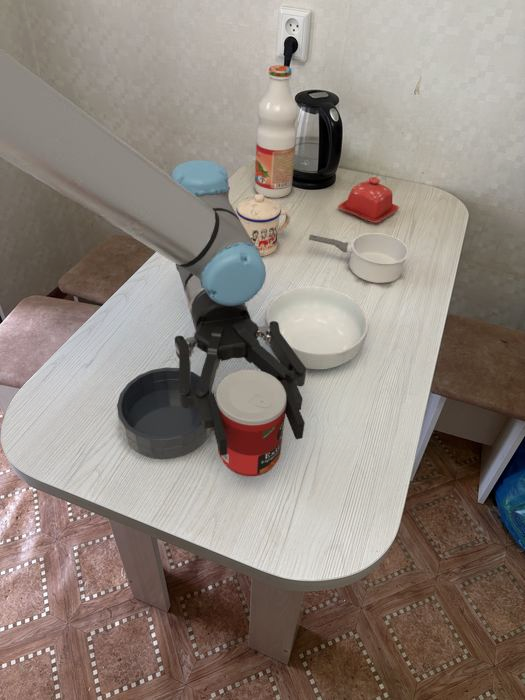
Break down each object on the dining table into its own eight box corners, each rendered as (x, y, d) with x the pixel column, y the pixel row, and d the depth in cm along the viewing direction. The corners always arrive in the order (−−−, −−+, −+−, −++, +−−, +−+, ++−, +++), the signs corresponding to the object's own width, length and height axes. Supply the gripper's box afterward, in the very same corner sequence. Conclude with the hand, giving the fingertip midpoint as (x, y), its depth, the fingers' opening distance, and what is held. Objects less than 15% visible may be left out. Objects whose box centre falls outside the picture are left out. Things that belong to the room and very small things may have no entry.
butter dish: (360, 195, 128) (366, 163, 122) (400, 211, 123) (408, 178, 117) (334, 211, 121) (339, 177, 116) (375, 229, 116) (383, 194, 110)
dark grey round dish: (112, 457, 69) (107, 437, 66) (132, 385, 78) (128, 365, 75) (209, 461, 69) (208, 441, 66) (217, 389, 79) (216, 369, 76)
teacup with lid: (246, 261, 104) (247, 210, 96) (229, 239, 110) (229, 189, 102) (297, 250, 108) (302, 199, 100) (278, 229, 114) (282, 180, 106)
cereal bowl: (259, 317, 92) (261, 285, 87) (348, 314, 93) (355, 283, 88) (269, 386, 80) (271, 354, 75) (371, 382, 81) (380, 350, 76)
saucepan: (311, 245, 110) (314, 222, 106) (404, 260, 107) (410, 237, 103) (301, 274, 102) (304, 250, 98) (401, 292, 99) (408, 268, 95)
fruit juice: (289, 200, 124) (299, 76, 105) (251, 196, 125) (255, 72, 106) (293, 183, 131) (304, 64, 112) (257, 179, 132) (262, 60, 113)
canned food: (269, 486, 60) (275, 430, 52) (207, 466, 61) (204, 408, 54) (288, 437, 65) (295, 379, 58) (230, 420, 67) (230, 361, 59)
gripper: (286, 317, 74) (346, 440, 59) (144, 339, 70) (168, 479, 54) (290, 275, 69) (357, 398, 54) (137, 296, 65) (161, 437, 49)
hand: (262, 439), depth 54 cm, fingers closed on canned food, 8 cm apart
